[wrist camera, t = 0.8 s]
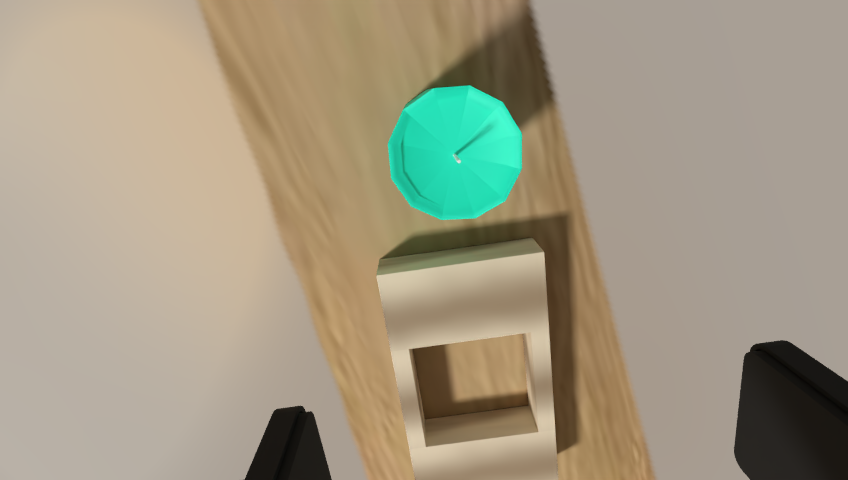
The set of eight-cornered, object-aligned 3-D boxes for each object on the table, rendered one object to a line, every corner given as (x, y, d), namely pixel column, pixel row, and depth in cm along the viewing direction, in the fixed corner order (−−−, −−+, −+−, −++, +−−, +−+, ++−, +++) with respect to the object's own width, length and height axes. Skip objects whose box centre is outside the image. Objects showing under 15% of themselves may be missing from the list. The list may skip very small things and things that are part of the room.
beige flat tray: (379, 259, 32) (376, 275, 29) (532, 237, 32) (544, 251, 29) (419, 476, 38) (420, 507, 36) (548, 459, 38) (559, 489, 35)
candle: (505, 130, 30) (563, 153, 18) (444, 197, 31) (463, 259, 20) (437, 66, 28) (453, 48, 17) (376, 139, 30) (354, 169, 18)
